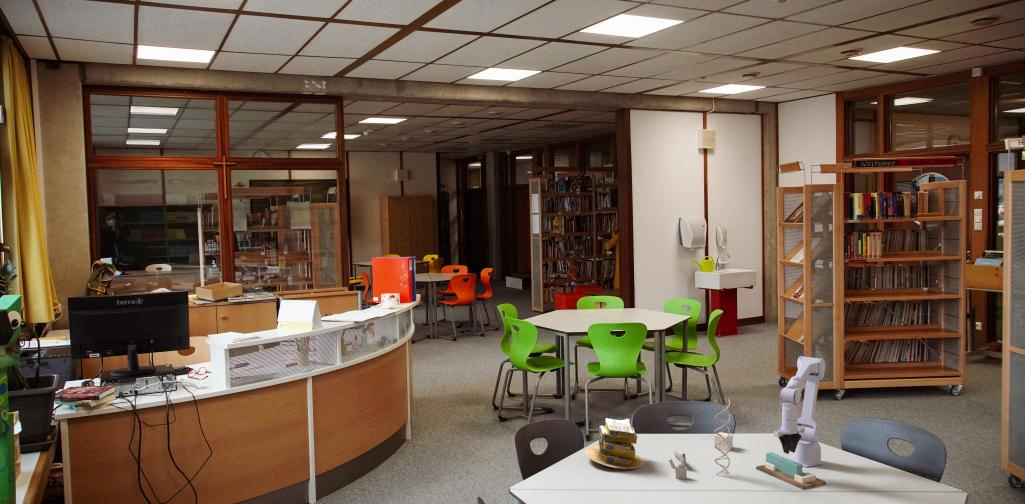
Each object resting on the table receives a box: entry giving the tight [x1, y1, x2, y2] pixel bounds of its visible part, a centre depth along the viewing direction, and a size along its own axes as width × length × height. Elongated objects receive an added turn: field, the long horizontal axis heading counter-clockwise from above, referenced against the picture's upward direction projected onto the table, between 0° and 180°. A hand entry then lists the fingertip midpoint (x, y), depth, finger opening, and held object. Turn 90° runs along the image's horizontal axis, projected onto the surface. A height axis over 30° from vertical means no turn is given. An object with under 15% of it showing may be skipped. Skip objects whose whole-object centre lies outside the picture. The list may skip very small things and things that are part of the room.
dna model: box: [714, 398, 731, 475], centre depth 281 cm, size 7×6×30 cm
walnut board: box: [755, 464, 827, 490], centre depth 278 cm, size 12×24×1 cm, turn 25°
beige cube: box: [713, 431, 734, 452], centre depth 312 cm, size 6×6×6 cm
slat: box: [765, 451, 803, 477], centre depth 281 cm, size 3×16×5 cm, turn 25°
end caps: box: [764, 461, 817, 483], centre depth 278 cm, size 7×19×2 cm, turn 25°
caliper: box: [673, 450, 687, 468], centre depth 296 cm, size 20×1×6 cm, turn 178°
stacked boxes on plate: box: [584, 417, 645, 470], centre depth 296 cm, size 25×25×17 cm
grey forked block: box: [667, 457, 688, 480], centre depth 277 cm, size 7×2×8 cm, turn 87°
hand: (789, 452), depth 278 cm, fingers open, 3 cm apart
